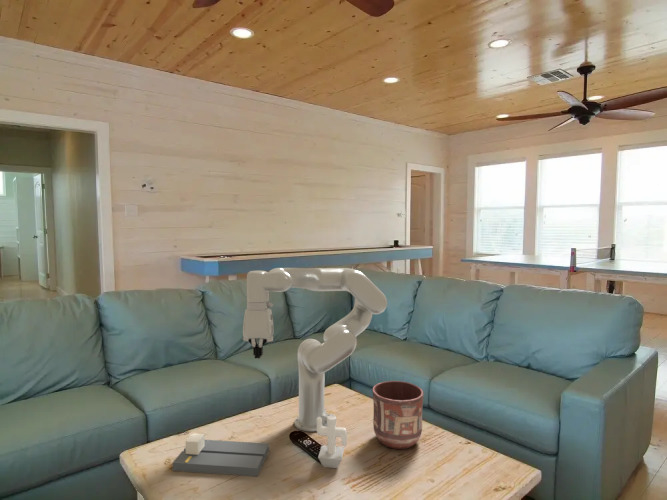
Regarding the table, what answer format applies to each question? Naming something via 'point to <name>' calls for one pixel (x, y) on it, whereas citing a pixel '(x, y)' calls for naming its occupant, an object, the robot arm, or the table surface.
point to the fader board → (224, 458)
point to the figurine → (331, 442)
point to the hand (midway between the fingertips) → (258, 357)
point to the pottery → (397, 413)
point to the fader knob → (194, 444)
